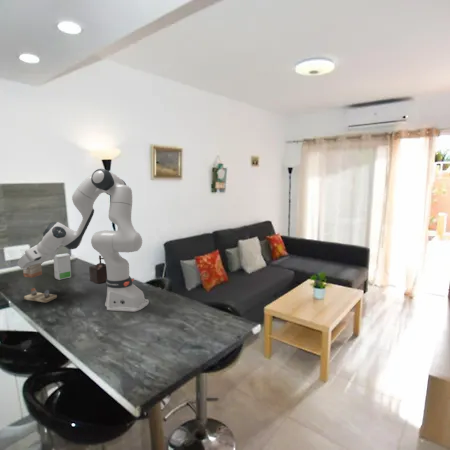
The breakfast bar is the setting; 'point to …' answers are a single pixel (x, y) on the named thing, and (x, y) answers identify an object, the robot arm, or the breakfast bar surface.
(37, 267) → the sleeve
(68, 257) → the skincare box
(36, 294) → the pin board
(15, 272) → the breakfast bar surface
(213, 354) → the breakfast bar surface
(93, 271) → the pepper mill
